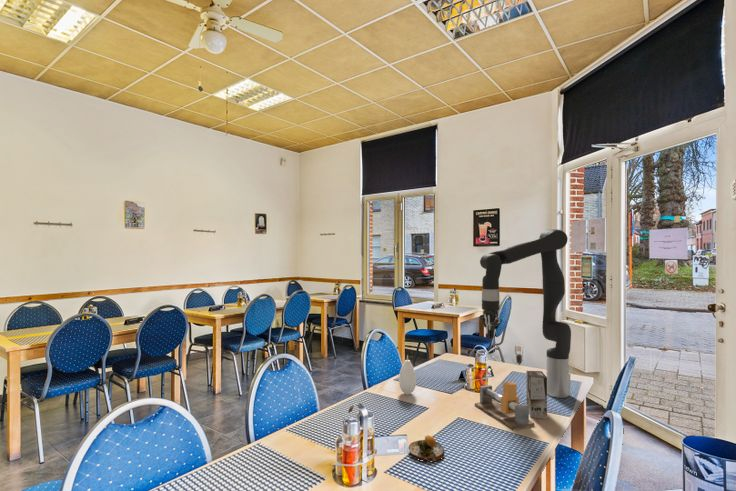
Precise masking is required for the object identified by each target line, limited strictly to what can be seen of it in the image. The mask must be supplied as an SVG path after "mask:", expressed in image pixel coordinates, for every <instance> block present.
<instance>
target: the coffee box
mask: <svg viewBox="0 0 736 491" xmlns="http://www.w3.org/2000/svg"><path fill="white" fill-rule="evenodd" d="M525 382H526V404H527V405H529V418H536V419H547V418H548V399H547V398H548V394H547V375H546V374H544V372H543V371H541V370H526V381H525Z"/></svg>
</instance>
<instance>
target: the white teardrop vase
mask: <svg viewBox="0 0 736 491" xmlns="http://www.w3.org/2000/svg"><path fill="white" fill-rule="evenodd" d="M398 384H399V388H400V390H401V392H402V393H403V394H404V395H407V396H408V395H411V394H413V392H414V391H415V389H416V385H417V376H416V372H415V368H414V366H413V364H412V363H411V360H410V359H409V355H408V354H407V356H406V359H405V360H404V363H403V364H402V365H401V368H400V370H399V374H398Z"/></svg>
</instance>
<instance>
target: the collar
mask: <svg viewBox="0 0 736 491" xmlns="http://www.w3.org/2000/svg"><path fill="white" fill-rule="evenodd" d="M502 384H503V385H502V396H501V403H500V404H501V412H503V413H505V414H510V413H515V411H513V410H512V409H509V408H508V401H514V402H515V403H517V404H519V405H520V401H519V400H520V397H519V396H518V395H517V393H518V392H517V390H518V389H517V387H518V385H517V383H515V382H512V381H507V382H503V383H502Z"/></svg>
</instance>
